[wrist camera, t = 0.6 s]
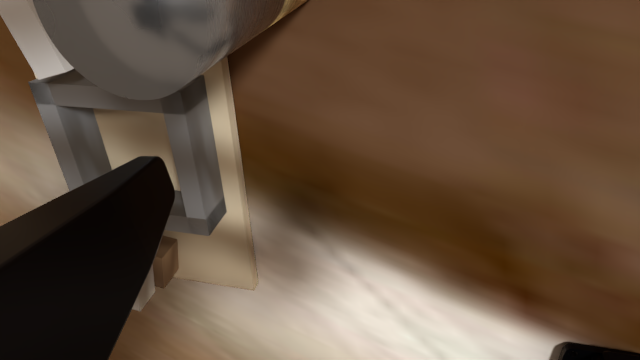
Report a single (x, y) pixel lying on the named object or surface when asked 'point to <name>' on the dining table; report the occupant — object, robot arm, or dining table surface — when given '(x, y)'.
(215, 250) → the shaft station
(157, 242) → the robot arm
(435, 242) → the dining table surface
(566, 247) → the dining table surface
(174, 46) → the coupler
